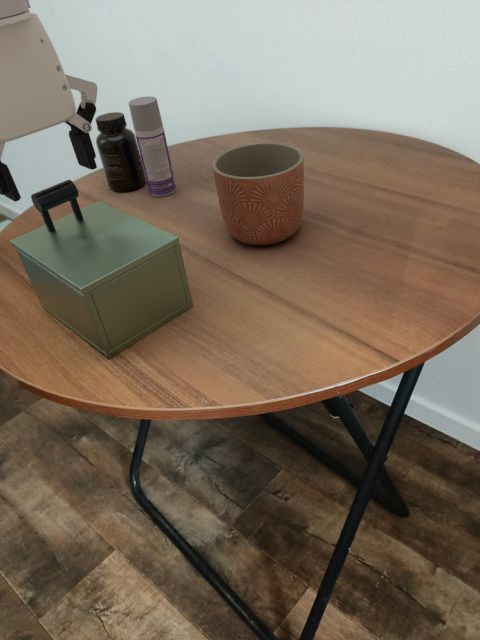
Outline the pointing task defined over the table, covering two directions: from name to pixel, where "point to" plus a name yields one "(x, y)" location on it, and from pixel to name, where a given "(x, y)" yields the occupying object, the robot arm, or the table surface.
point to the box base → (117, 301)
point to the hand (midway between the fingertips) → (52, 181)
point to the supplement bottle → (119, 153)
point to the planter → (260, 191)
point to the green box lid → (89, 240)
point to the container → (152, 146)
